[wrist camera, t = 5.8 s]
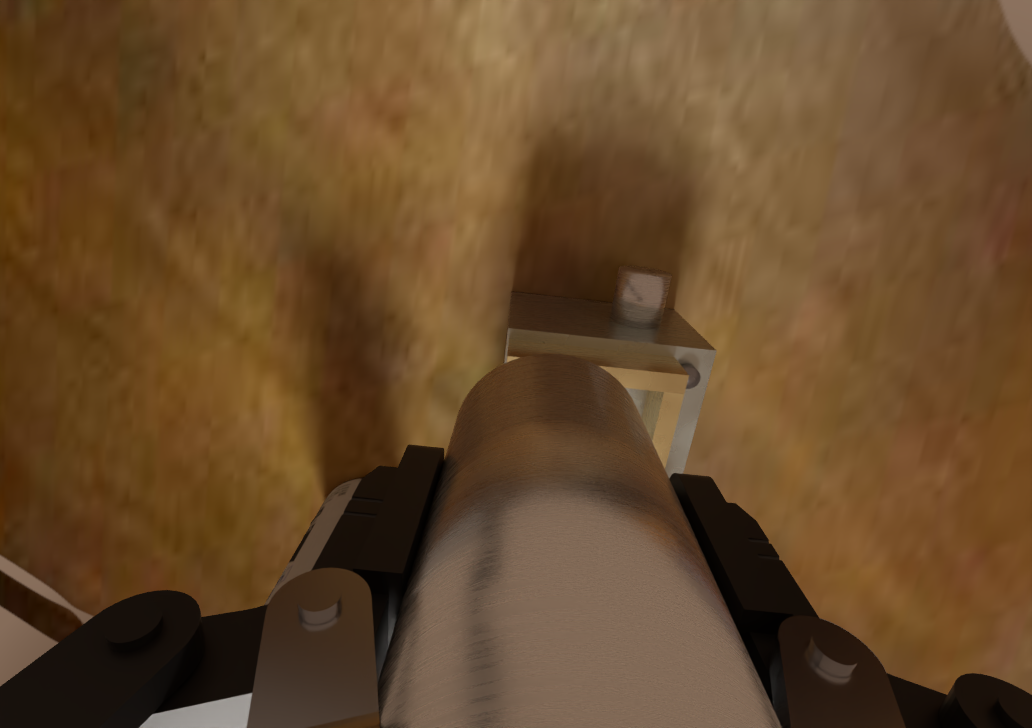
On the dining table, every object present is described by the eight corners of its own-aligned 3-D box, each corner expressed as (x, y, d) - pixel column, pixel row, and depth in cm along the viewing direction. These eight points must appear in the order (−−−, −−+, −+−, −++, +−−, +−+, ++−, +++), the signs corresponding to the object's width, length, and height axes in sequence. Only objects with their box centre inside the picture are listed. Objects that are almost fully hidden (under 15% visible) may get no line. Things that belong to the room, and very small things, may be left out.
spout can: (460, 343, 12) (110, 1197, 2) (659, 364, 12) (1290, 1294, 2) (449, 509, 14) (231, 1416, 4) (623, 527, 14) (872, 1468, 4)
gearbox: (516, 246, 32) (512, 295, 20) (684, 265, 33) (778, 324, 21) (492, 469, 39) (478, 607, 27) (633, 483, 39) (682, 626, 27)
